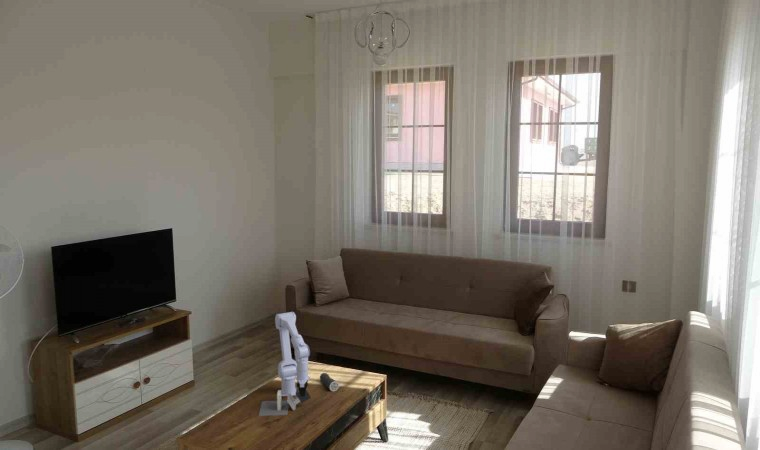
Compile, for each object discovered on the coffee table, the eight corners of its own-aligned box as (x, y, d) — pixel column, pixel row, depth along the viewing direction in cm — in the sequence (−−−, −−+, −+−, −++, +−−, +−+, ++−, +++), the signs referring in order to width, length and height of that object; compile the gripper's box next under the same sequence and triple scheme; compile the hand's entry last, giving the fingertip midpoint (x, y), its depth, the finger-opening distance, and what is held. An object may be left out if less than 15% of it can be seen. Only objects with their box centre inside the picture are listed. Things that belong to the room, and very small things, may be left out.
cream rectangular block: (277, 405, 289) (277, 390, 288) (281, 404, 289) (281, 390, 288) (277, 410, 283) (276, 395, 282) (280, 410, 283) (280, 395, 282)
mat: (262, 402, 293) (262, 401, 293) (289, 401, 295) (289, 400, 294) (258, 416, 277) (258, 415, 277) (287, 415, 279) (287, 414, 279)
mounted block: (294, 403, 291) (288, 394, 290) (310, 393, 291) (304, 384, 290) (293, 410, 283) (287, 400, 282) (310, 400, 283) (303, 391, 282)
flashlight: (318, 382, 320) (318, 372, 319) (327, 380, 323) (327, 371, 322) (329, 392, 307) (329, 382, 306) (338, 390, 309) (338, 380, 308)
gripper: (310, 374, 278) (310, 401, 280) (310, 363, 292) (310, 388, 294) (295, 375, 277) (295, 401, 279) (296, 364, 291) (297, 389, 293)
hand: (302, 395), depth 287 cm, fingers closed on mounted block, 2 cm apart
